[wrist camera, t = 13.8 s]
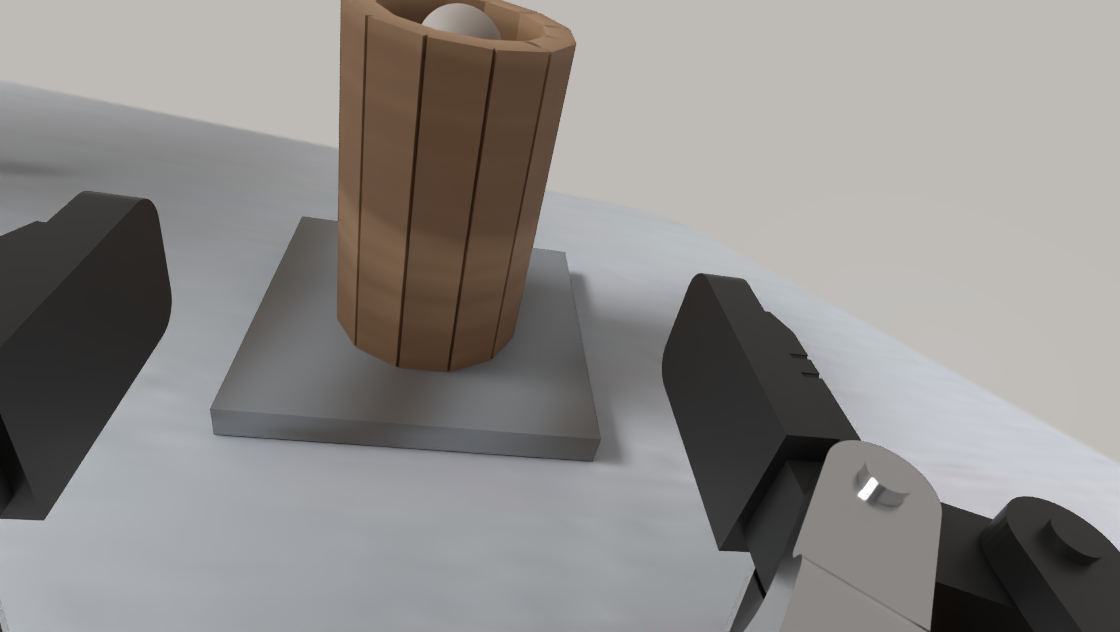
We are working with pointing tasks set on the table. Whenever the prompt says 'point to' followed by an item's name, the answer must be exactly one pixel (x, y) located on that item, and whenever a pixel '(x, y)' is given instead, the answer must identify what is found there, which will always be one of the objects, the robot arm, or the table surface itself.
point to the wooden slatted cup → (442, 176)
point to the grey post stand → (408, 394)
